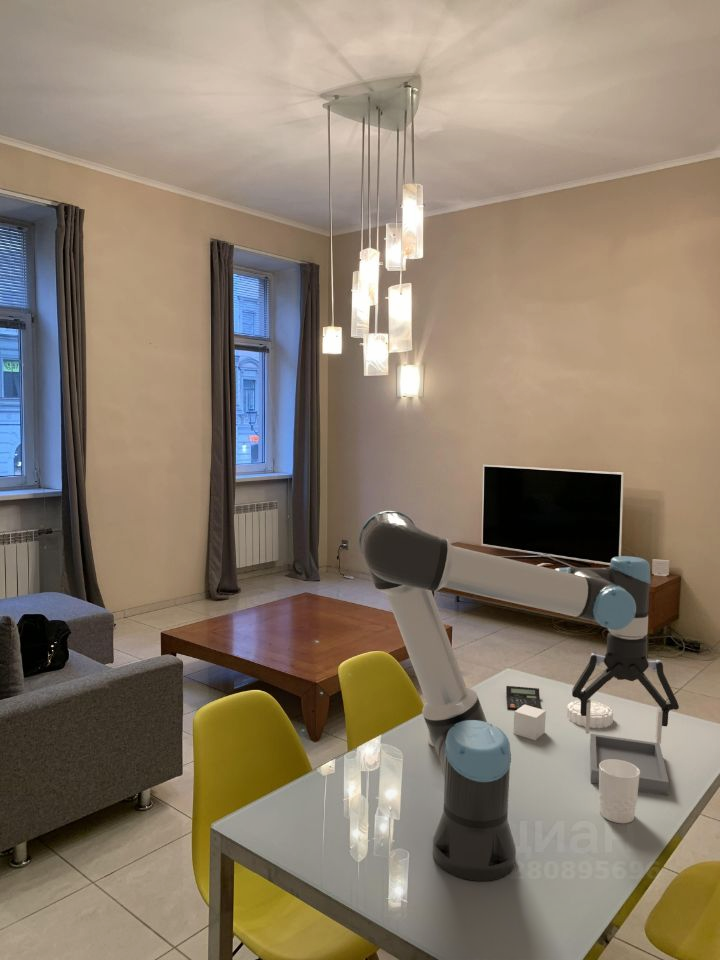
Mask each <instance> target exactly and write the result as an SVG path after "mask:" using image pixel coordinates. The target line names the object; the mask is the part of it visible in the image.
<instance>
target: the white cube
mask: <svg viewBox="0 0 720 960" xmlns="http://www.w3.org/2000/svg"><path fill="white" fill-rule="evenodd" d="M513 711H514V714H513V715H514V716H513V733H512V734H514V735H517V736H519V737H522V738H526V739H529V740H534V741H536V740H537V739H539V738H540V737H541V736H543V734H545V733H546V718H547V717H546V715H547V710H545V709H539V708H535V707H531V706H528V705H523V706H522V707H520V708H519V709H517V710H513Z"/></svg>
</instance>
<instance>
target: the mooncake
mask: <svg viewBox="0 0 720 960" xmlns="http://www.w3.org/2000/svg"><path fill="white" fill-rule="evenodd" d="M566 706H567V707H566V718H567V719H568V721H570V722H572V723H573V724H576V725H578V726H582V727H584V728H586V716H581V713H580V710H581V700H580V699H578V700H573V701H571V702H569V703H568V704H567V705H566ZM613 722H614V711H613V710H612V709H611V707H609V706H608V705H606V704H602V703H601V702H598V701H593V700H591V708H590V728H591V729H602V728H608V727H611V726H612V725H613ZM610 725H611V726H610Z"/></svg>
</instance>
